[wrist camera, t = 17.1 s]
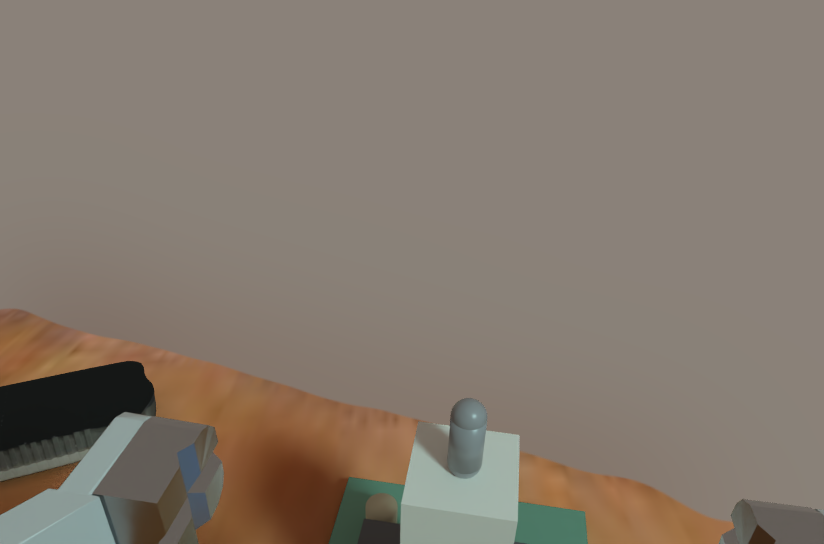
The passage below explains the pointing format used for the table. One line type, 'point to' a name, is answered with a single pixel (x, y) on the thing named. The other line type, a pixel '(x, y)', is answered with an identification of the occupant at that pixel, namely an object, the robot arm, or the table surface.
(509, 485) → the plug
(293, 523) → the table surface
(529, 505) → the board
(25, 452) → the black scrub brush
